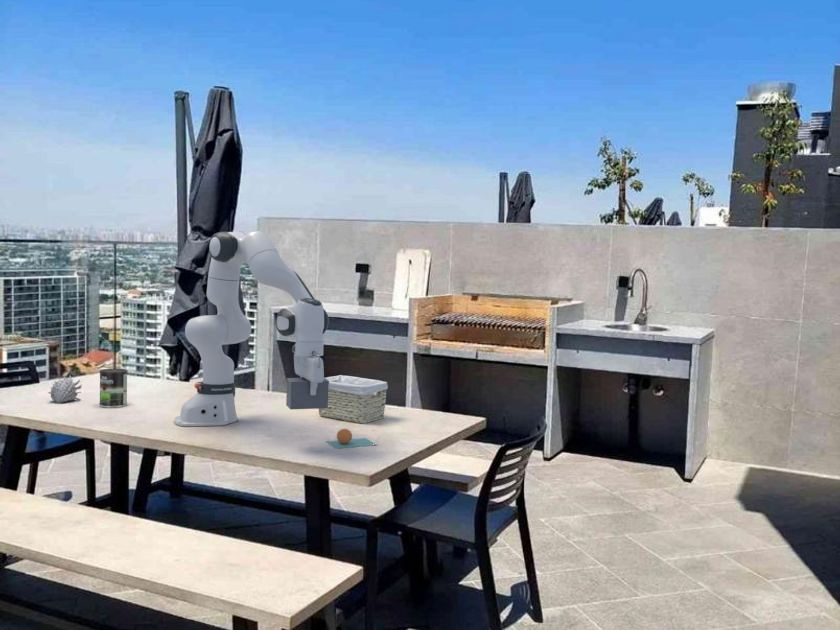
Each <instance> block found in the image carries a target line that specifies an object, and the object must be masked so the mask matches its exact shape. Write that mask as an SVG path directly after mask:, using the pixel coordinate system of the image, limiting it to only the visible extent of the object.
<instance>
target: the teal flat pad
mask: <svg viewBox="0 0 840 630" xmlns="http://www.w3.org/2000/svg"><path fill="white" fill-rule="evenodd" d="M326 443H328V444H329V445H330V444H331V445H330V446H332V447H333V448H335V449H336V448H339V449H347V448H348V447H351V448H361V447H360V446H363V447H370V446H369V445H373V444H374V445H375V446H377V445H378V444H376V443H375V442H373V441H372V440H370V439H368V438H366V437H361V438H352V439H351V441H350V442H349V443H347V444H341V443H340V442H339V441H338V440H337V439H336V440H327V441H326ZM367 445H368V446H367Z"/></svg>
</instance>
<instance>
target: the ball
mask: <svg viewBox="0 0 840 630" xmlns="http://www.w3.org/2000/svg"><path fill="white" fill-rule="evenodd" d="M336 438H337V439H336V440H338V441H339V442H340V443H341V444H347V443H349V442H350V441H351V439H353V434H352V431H350V430H349V429H347V428H342V429H339V431H338V432H337V433H336Z"/></svg>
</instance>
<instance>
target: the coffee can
mask: <svg viewBox="0 0 840 630" xmlns="http://www.w3.org/2000/svg"><path fill="white" fill-rule="evenodd" d="M127 397H128V369H125V368H103V369H99V407H100V408H105V409H107V408H108V409H111V408H112V409H113V408H114V409H116V408H124V407H126V406H127V405H128V398H127Z"/></svg>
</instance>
